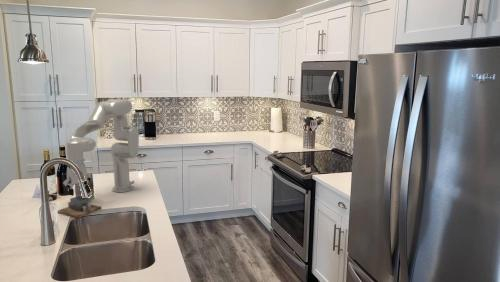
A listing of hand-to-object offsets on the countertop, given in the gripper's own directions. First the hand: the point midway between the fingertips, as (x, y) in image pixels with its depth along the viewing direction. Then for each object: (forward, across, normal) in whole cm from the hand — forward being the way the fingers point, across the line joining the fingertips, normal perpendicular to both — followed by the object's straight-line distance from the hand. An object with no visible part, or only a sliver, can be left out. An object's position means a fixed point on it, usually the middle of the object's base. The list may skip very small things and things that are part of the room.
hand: (79, 192), depth 204 cm
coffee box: (+11, -12, -11) cm, 20 cm away
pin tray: (+11, +1, 0) cm, 11 cm away
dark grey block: (+9, +1, 0) cm, 9 cm away
